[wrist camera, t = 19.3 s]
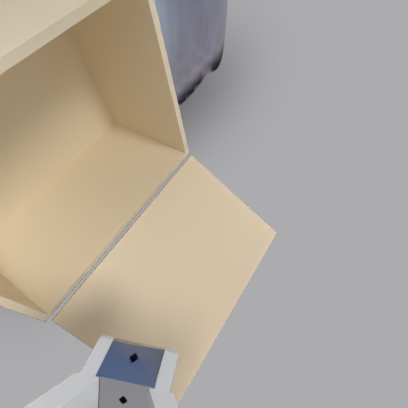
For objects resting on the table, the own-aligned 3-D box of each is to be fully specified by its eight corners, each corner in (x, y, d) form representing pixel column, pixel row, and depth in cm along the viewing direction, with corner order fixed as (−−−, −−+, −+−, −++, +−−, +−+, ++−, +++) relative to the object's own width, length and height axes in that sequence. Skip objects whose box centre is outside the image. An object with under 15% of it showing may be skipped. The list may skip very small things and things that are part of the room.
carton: (-304, 116, 15) (-248, 217, 10) (34, -50, 24) (145, -37, 19) (-27, 256, 30) (46, 322, 25) (116, 123, 39) (189, 154, 34)
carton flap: (176, 406, 27) (174, 403, 28) (276, 233, 36) (273, 233, 36) (51, 320, 25) (52, 319, 25) (191, 155, 33) (189, 156, 34)
